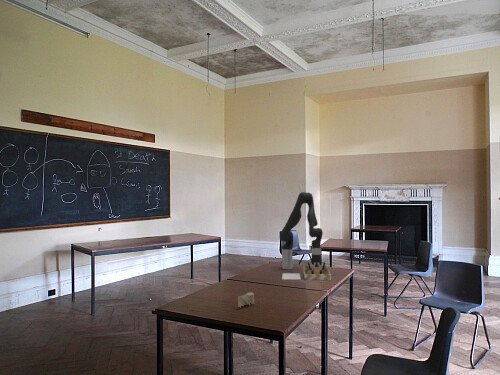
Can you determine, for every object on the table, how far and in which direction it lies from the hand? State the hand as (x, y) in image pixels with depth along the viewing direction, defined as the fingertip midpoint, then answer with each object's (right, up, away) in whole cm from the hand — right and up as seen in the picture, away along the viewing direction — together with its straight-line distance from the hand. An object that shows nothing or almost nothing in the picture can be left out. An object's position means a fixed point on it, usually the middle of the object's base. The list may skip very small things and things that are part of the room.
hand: (316, 275), depth 288 cm
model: (-55, -1, -73) cm, 91 cm away
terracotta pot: (0, -1, 0) cm, 1 cm away
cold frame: (0, -2, 0) cm, 2 cm away
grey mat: (-20, -2, +2) cm, 20 cm away
